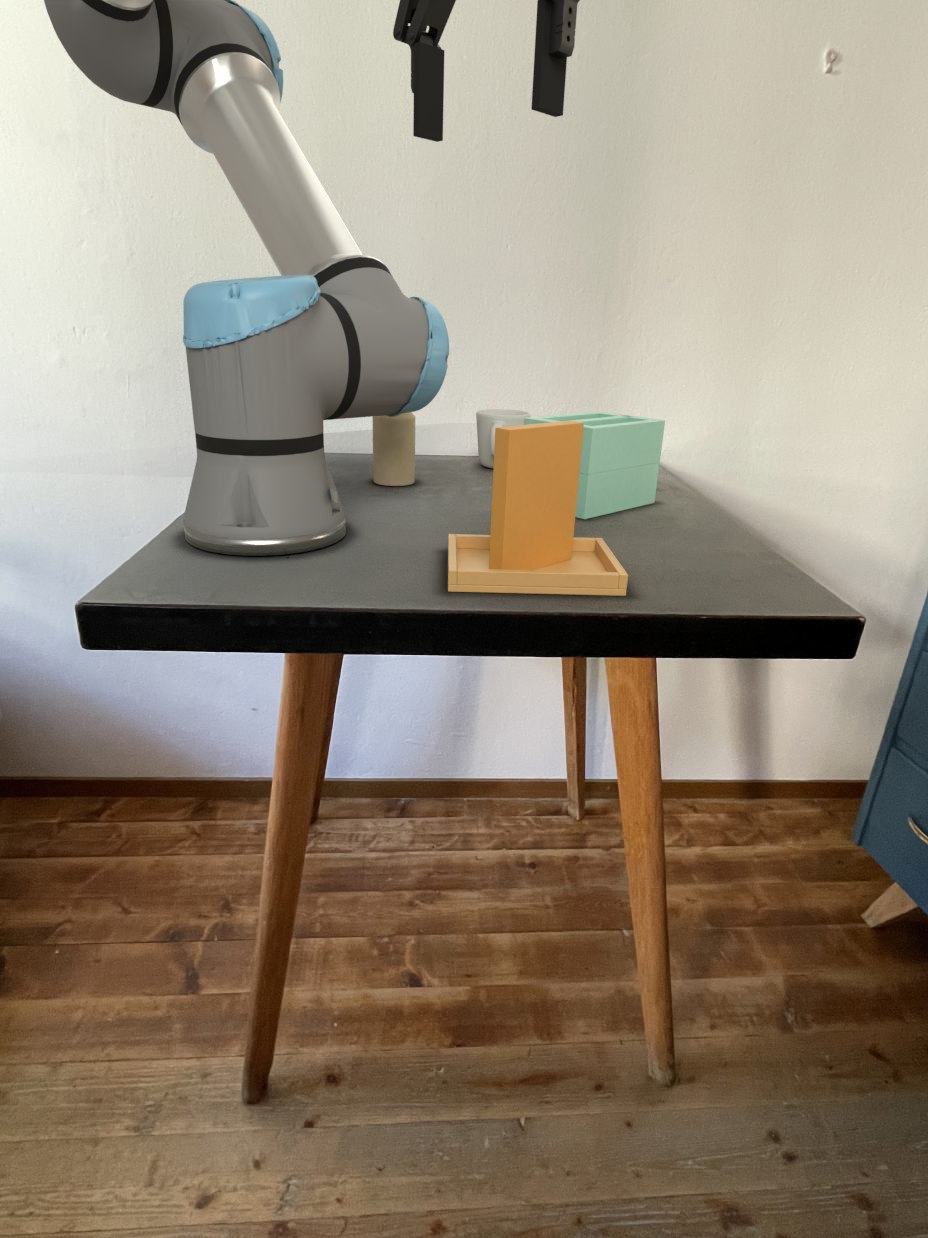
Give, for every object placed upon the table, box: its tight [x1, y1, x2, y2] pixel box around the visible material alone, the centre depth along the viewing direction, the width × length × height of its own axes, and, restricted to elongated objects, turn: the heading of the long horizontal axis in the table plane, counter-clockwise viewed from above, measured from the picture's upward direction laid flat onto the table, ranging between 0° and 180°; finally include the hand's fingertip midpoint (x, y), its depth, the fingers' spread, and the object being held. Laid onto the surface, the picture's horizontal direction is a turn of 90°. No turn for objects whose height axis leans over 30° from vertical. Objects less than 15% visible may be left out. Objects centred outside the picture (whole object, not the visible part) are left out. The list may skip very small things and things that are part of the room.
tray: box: [447, 533, 629, 597], centre depth 64 cm, size 14×11×2 cm
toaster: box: [524, 411, 666, 520], centre depth 88 cm, size 10×15×10 cm, turn 133°
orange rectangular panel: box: [489, 421, 584, 570], centre depth 62 cm, size 2×9×12 cm, turn 133°
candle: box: [372, 412, 416, 487], centre depth 96 cm, size 6×6×10 cm
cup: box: [475, 408, 532, 470], centre depth 108 cm, size 11×8×8 cm
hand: (483, 126), depth 59 cm, fingers open, 13 cm apart
